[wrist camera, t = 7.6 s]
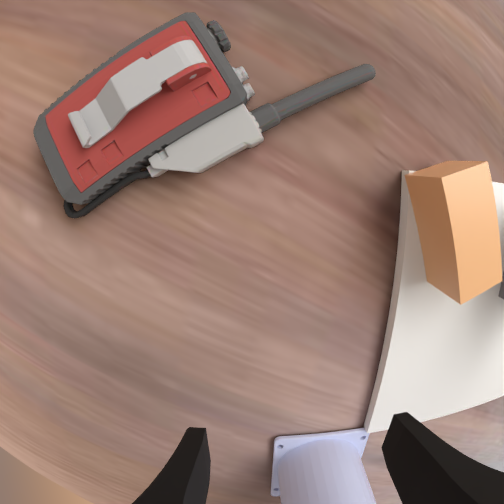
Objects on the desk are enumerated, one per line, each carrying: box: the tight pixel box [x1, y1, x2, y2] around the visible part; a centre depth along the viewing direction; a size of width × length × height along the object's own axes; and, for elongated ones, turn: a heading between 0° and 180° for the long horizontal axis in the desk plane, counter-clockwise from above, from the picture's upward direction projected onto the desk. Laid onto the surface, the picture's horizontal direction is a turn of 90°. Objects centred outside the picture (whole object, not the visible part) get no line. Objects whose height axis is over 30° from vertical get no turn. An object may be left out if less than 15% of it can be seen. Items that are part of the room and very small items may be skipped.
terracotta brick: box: [404, 161, 502, 305], centre depth 15 cm, size 7×4×4 cm, turn 20°
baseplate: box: [364, 170, 504, 433], centre depth 20 cm, size 20×17×1 cm
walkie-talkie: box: [34, 13, 376, 218], centre depth 15 cm, size 9×4×20 cm
